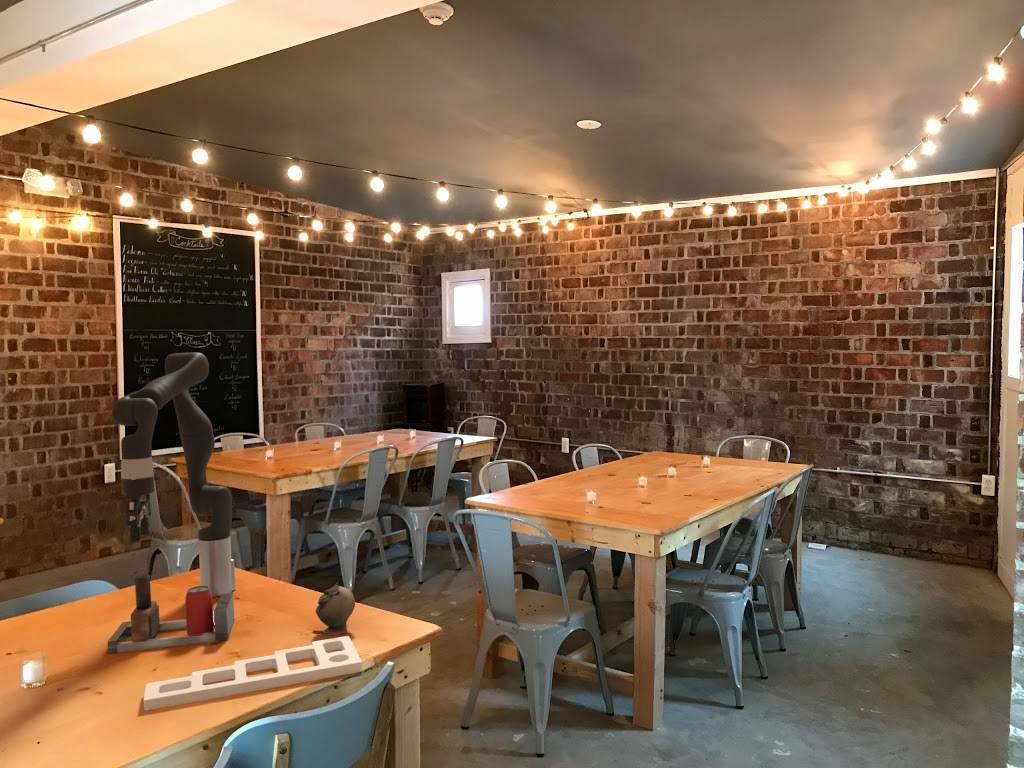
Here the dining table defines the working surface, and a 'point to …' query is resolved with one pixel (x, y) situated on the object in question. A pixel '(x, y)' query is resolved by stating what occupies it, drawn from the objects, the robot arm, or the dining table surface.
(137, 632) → the sliding jaw
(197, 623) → the beer can
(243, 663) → the holder
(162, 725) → the dining table surface
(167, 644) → the frame
